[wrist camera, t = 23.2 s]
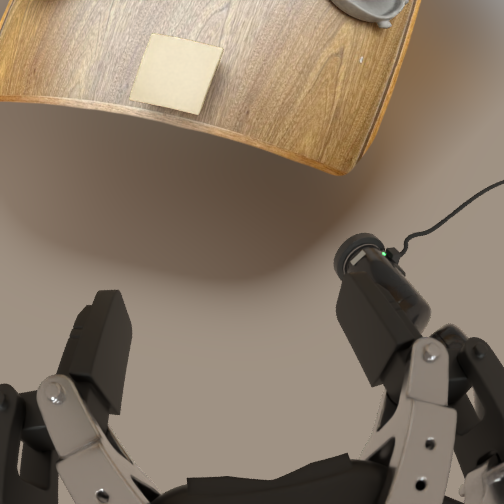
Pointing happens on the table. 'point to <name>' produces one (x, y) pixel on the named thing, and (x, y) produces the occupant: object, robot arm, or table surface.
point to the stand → (176, 73)
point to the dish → (372, 10)
